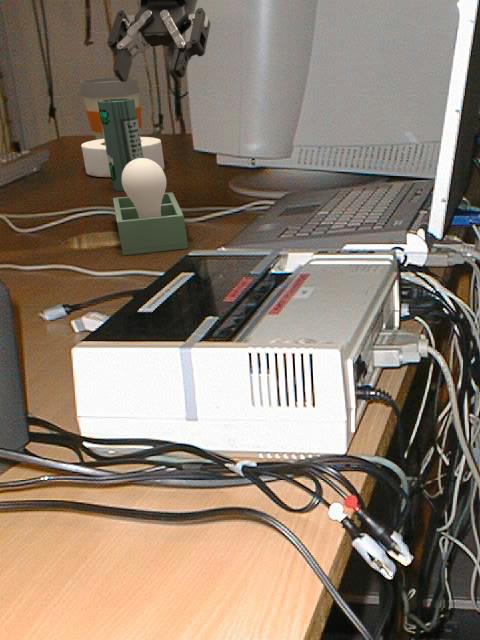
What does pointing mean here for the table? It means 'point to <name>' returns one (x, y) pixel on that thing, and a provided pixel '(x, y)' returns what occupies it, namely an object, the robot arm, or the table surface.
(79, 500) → the table surface
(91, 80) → the reusable coffee cup
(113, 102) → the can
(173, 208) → the rack
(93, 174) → the tape roll
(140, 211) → the lightbulb
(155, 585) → the table surface
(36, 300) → the table surface
